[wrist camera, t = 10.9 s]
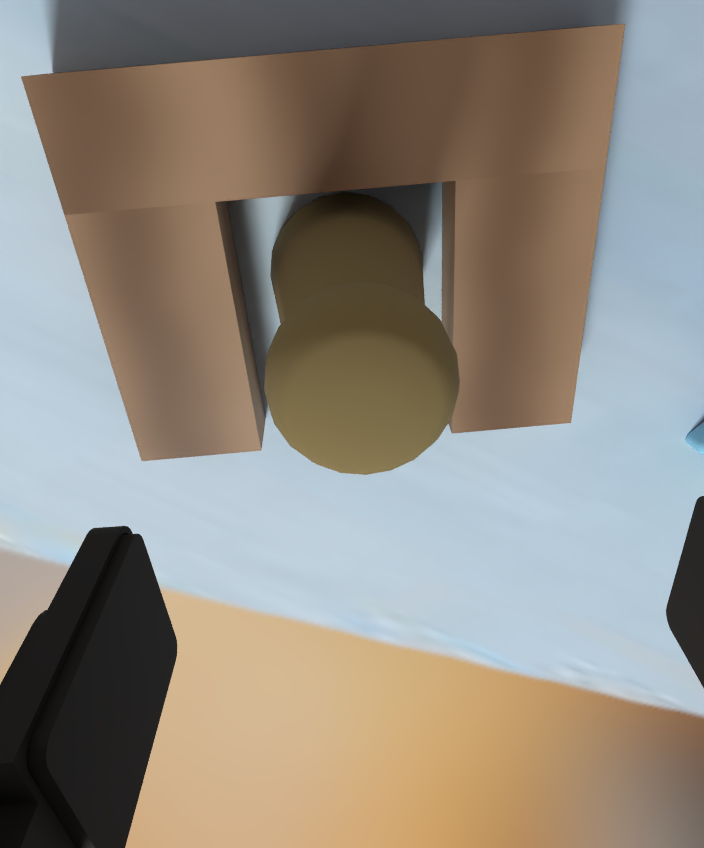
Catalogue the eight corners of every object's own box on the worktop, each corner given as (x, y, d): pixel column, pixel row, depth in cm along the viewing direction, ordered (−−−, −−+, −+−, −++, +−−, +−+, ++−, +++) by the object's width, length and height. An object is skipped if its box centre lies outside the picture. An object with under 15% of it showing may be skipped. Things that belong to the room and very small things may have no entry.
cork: (244, 226, 23) (196, 348, 14) (396, 167, 22) (454, 256, 13) (304, 361, 26) (298, 535, 17) (439, 314, 25) (511, 470, 16)
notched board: (593, 25, 20) (625, 23, 18) (551, 393, 28) (570, 422, 26) (52, 73, 20) (21, 76, 18) (155, 429, 28) (141, 461, 26)
